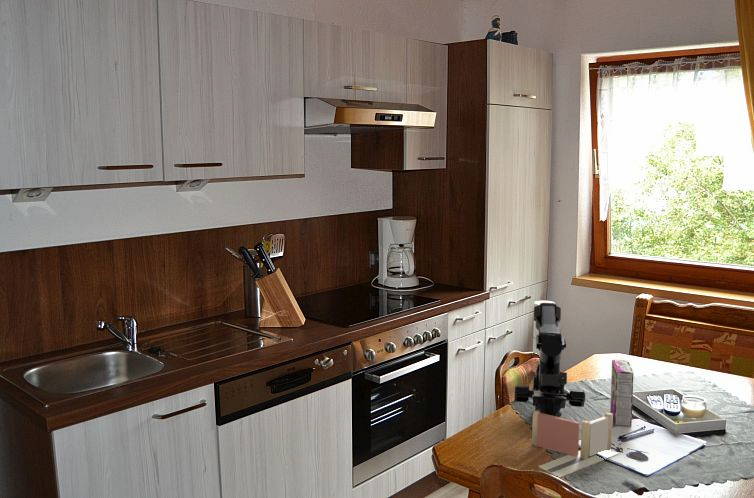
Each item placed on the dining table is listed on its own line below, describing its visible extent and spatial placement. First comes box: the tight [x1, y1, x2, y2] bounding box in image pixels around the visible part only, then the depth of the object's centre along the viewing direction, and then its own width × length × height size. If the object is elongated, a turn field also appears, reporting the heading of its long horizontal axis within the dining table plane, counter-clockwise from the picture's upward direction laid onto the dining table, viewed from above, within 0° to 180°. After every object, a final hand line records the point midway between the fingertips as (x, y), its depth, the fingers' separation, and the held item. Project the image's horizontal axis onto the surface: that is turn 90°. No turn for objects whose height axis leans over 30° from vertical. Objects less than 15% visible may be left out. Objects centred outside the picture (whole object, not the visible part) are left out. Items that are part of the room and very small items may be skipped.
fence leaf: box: [531, 409, 581, 456], centre depth 187 cm, size 13×2×9 cm, turn 55°
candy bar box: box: [609, 359, 634, 427], centre depth 207 cm, size 11×5×16 cm, turn 168°
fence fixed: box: [580, 412, 614, 460], centre depth 185 cm, size 11×2×10 cm, turn 124°
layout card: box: [537, 449, 605, 479], centre depth 182 cm, size 23×7×1 cm, turn 124°
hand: (548, 425), depth 189 cm, fingers closed
